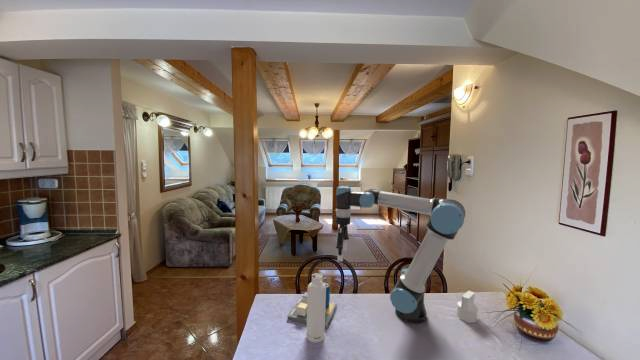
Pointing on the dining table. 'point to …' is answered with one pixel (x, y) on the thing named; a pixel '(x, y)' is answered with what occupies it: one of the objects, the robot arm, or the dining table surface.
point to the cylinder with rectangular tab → (467, 308)
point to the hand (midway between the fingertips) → (342, 255)
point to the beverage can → (327, 294)
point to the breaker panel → (303, 319)
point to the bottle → (316, 309)
